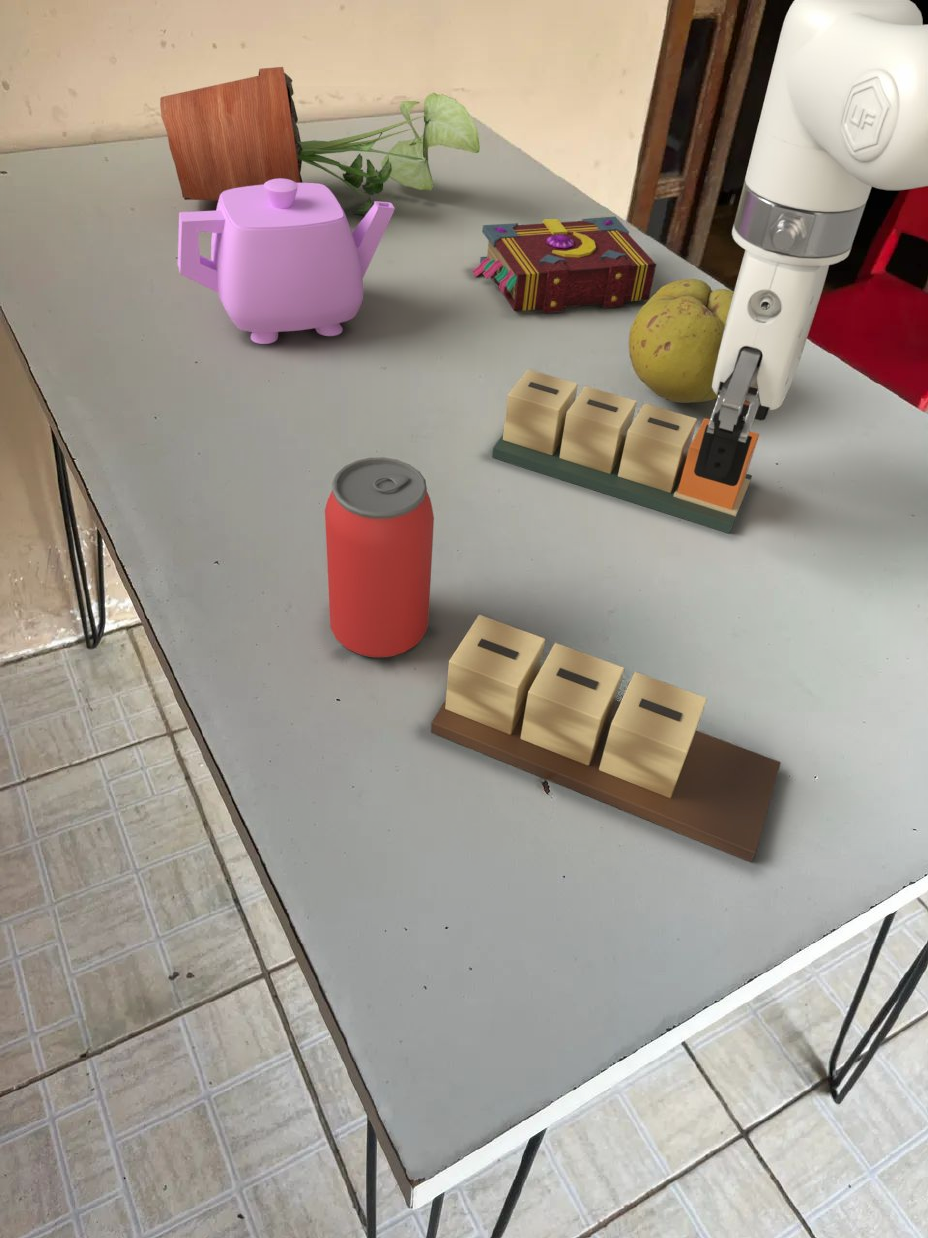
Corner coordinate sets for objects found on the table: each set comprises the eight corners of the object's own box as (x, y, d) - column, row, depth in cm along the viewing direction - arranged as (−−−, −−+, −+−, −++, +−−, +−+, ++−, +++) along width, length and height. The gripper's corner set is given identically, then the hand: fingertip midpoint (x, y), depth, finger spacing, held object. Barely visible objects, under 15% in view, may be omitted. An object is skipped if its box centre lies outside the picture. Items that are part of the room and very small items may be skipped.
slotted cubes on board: (776, 771, 59) (804, 714, 55) (751, 862, 55) (779, 807, 51) (476, 657, 64) (483, 598, 60) (430, 732, 60) (434, 672, 56)
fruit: (596, 366, 91) (615, 263, 84) (711, 357, 94) (738, 256, 87) (640, 434, 84) (665, 327, 77) (763, 422, 87) (798, 318, 80)
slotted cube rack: (749, 484, 80) (768, 428, 76) (729, 533, 75) (748, 476, 71) (523, 415, 85) (530, 359, 81) (491, 457, 80) (497, 399, 76)
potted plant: (187, 251, 106) (502, 220, 110) (152, 98, 96) (501, 69, 100) (190, 200, 117) (475, 173, 121) (159, 58, 107) (472, 33, 111)
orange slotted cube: (744, 479, 78) (760, 432, 75) (731, 510, 75) (747, 462, 72) (691, 463, 79) (704, 416, 76) (677, 492, 76) (690, 445, 73)
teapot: (198, 362, 87) (178, 222, 78) (177, 297, 96) (157, 163, 87) (411, 336, 93) (414, 202, 84) (374, 277, 101) (374, 149, 92)
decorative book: (650, 305, 101) (660, 258, 97) (502, 318, 97) (507, 270, 93) (608, 256, 108) (615, 210, 105) (469, 266, 104) (472, 220, 101)
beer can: (446, 639, 65) (457, 497, 57) (361, 677, 63) (358, 533, 54) (395, 581, 69) (397, 439, 61) (312, 614, 66) (302, 471, 58)
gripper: (834, 285, 55) (755, 523, 67) (874, 187, 67) (801, 404, 79) (705, 255, 57) (650, 491, 69) (766, 165, 69) (710, 380, 81)
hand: (731, 445), depth 74 cm, fingers open, 9 cm apart
